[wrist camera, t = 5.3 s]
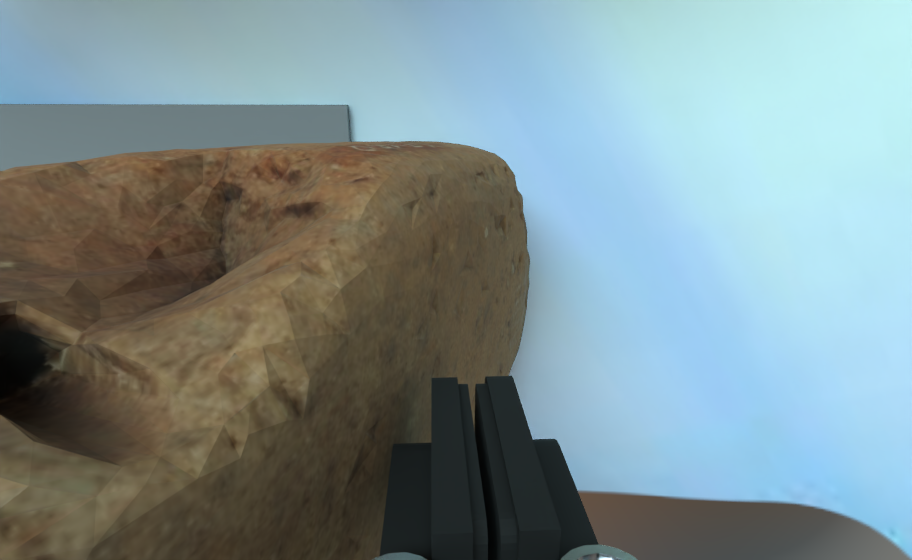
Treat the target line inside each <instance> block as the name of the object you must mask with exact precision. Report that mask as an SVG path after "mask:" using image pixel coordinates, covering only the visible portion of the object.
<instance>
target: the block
mask: <svg viewBox="0 0 912 560" xmlns="http://www.w3.org/2000/svg"><path fill="white" fill-rule="evenodd" d="M529 265H530V259H529V253H528V251H527V229H526V223H525V218H524V214H523V199H522V195H521V194H520V193H519V191H518V190H517V187H516V181H515V175H514V173H513V172H512V171H511V169H510V168H509V166H508V165H507V163H506V162H505V161H504V160H503V159H501V158H500V157H499V156H497V155H496V154H494V153H491V152H488V151H485V150H482V149H479V148H475V147H471V146H466V145H460V144H452V143H443V142H422V141H405V142H337V143H291V144H267V145H252V146H236V147H222V148H205V149H172V150H164V151H149V152H133V153H122V154H116V155H110V156H104V157H98V158H92V159H87V160H81V161H74V162H63V163H52V164H42V165H31V166H20V167H13V168H10V169H7V170H4V171H0V560H372V559H374V558H376V557H379V555H380V547H381V538H382V530H383V522H384V513H385V505H386V497H387V489H388V480H389V472H390V464H391V455H392V448H393V444H401V443H431V378H443V377H457V379H458V384H468V389H469V396H470V403H471V410H472V417H473V425H474V432H475V385H476V384H485V377H486V376H508V375H509V373H510V370H511V367H512V364H513V362H514V360H515V357H516V354H517V352H518V349H519V345H520V340H521V336H522V331H523V326H524V320H525V314H526V308H527V293H528V287H529Z"/></svg>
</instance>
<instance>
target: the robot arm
mask: <svg viewBox="0 0 912 560" xmlns="http://www.w3.org/2000/svg"><path fill="white" fill-rule="evenodd" d="M372 560H637V559H636V558H635V557H634V556H632V555H630V554H628V553H626V552H624V551H621V550H619V549H617V548H613V547H609V546H604V545H599V544H598V542H597V539H596V537H595V534H594V532H593V529H592V527H591V524H590V522H589V519H588V517H587V514H586V512H585V509H584V507H583V504H582V501H581V499H580V496H579V494H578V491H577V489H576V486H575V484H574V481H573V479H572V476H571V474H570V471H569V469H568V466H567V464H566V461H565V459H564V456H563V453H562V451H561V448H560V446H559V444H558V442H557V441H556V440H555V439H536V440H532V436H531V433H530V430H529V427H528V424H527V421H526V418H525V414H524V411H523V408H522V405H521V402H520V399H519V396H518V392H517V389H516V386H515V383H514V380H513V377H512V376H486V377H485V384H476V385H475V432H474V425H473V417H472V410H471V403H470V396H469V389H468V384H458V379H457V377H443V378H431V443H401V444H393V448H392V455H391V464H390V472H389V480H388V489H387V497H386V505H385V513H384V522H383V530H382V538H381V547H380V555H379V557H376V558H374V559H372Z"/></svg>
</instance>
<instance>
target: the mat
mask: <svg viewBox="0 0 912 560" xmlns="http://www.w3.org/2000/svg"><path fill="white" fill-rule="evenodd" d="M337 142H351V140H350V125H349V109H348V105H79V104H0V171H4V170H7V169H10V168H13V167H20V166H31V165H42V164H52V163H63V162H74V161H81V160H87V159H92V158H98V157H104V156H110V155H116V154H122V153H133V152H149V151H164V150H172V149H205V148H222V147H236V146H252V145H267V144H291V143H337Z"/></svg>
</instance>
